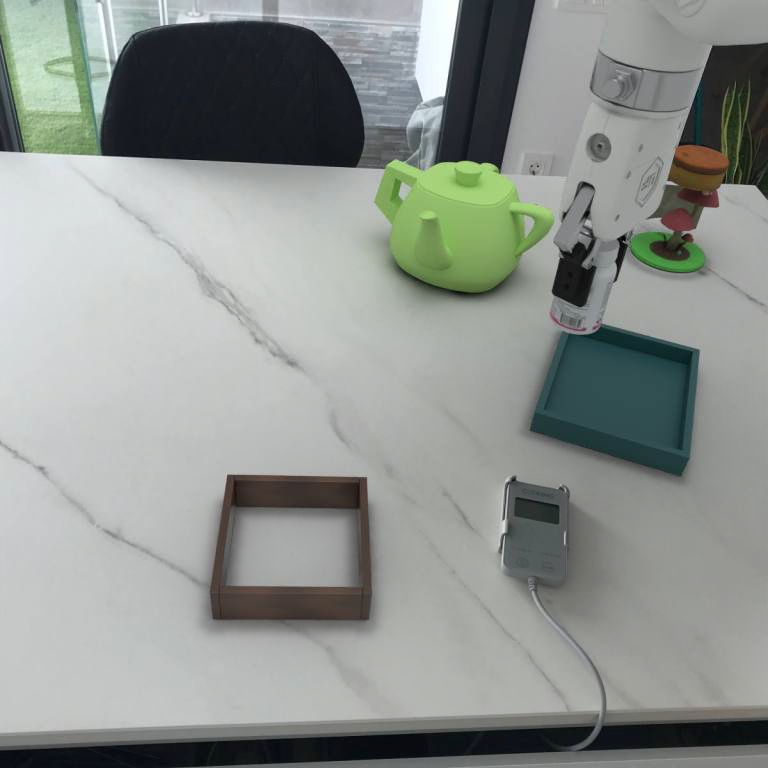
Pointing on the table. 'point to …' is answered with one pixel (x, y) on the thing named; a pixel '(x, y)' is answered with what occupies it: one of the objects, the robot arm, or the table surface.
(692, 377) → the tray
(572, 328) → the pill bottle
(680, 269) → the mushroom figurine
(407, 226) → the teapot
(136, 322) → the table surface
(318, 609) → the square wooden frame
